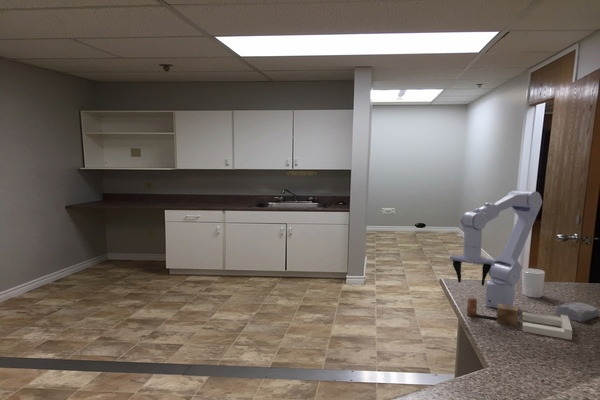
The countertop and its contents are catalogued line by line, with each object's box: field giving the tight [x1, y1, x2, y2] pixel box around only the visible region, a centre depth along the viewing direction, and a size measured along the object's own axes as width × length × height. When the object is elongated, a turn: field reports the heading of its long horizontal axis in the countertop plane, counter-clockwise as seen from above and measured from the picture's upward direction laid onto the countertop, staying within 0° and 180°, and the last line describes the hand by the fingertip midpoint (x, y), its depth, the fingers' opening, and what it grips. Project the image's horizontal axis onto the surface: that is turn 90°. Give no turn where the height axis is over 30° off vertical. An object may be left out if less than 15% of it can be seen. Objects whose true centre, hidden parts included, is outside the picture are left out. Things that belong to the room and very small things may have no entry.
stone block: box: [554, 302, 600, 323], centre depth 140 cm, size 12×5×10 cm
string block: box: [466, 297, 519, 326], centre depth 137 cm, size 16×5×6 cm, turn 61°
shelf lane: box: [521, 311, 573, 341], centre depth 130 cm, size 13×13×3 cm
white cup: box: [521, 267, 546, 299], centre depth 161 cm, size 8×8×10 cm
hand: (471, 283), depth 143 cm, fingers open, 7 cm apart
